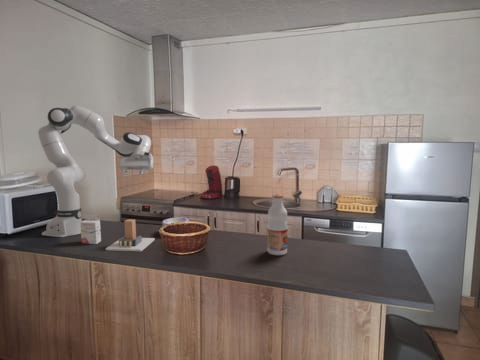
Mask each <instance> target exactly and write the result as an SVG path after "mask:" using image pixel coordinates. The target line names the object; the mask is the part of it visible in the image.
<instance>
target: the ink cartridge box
mask: <svg viewBox="0 0 480 360" xmlns="http://www.w3.org/2000/svg"><path fill="white" fill-rule="evenodd" d="M84 216H85V217H84V218H85V219H84V220H82V222H80V223H81V233H80V236H81V237H80V238H81V244H88V245H97V244H99V243H101V241H102V234H101V230H102V229H101V219H100V215H99V214H84Z"/></svg>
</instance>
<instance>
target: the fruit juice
mask: <svg viewBox="0 0 480 360" xmlns="http://www.w3.org/2000/svg"><path fill="white" fill-rule="evenodd" d="M283 199H284V195H283V194H277V193H276V194H275V193H274V194H273V195H272V201H273V202H272V205H271V206H270V208H269V209H268V211H267V217H268V221H267V244H266V247H267V250H266V251H267V253H268V254H269V255H272V256H283V255H286V254H287V252H288V221H287V217H288V210H287V209H286V208H285V206H284V202H283Z"/></svg>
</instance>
